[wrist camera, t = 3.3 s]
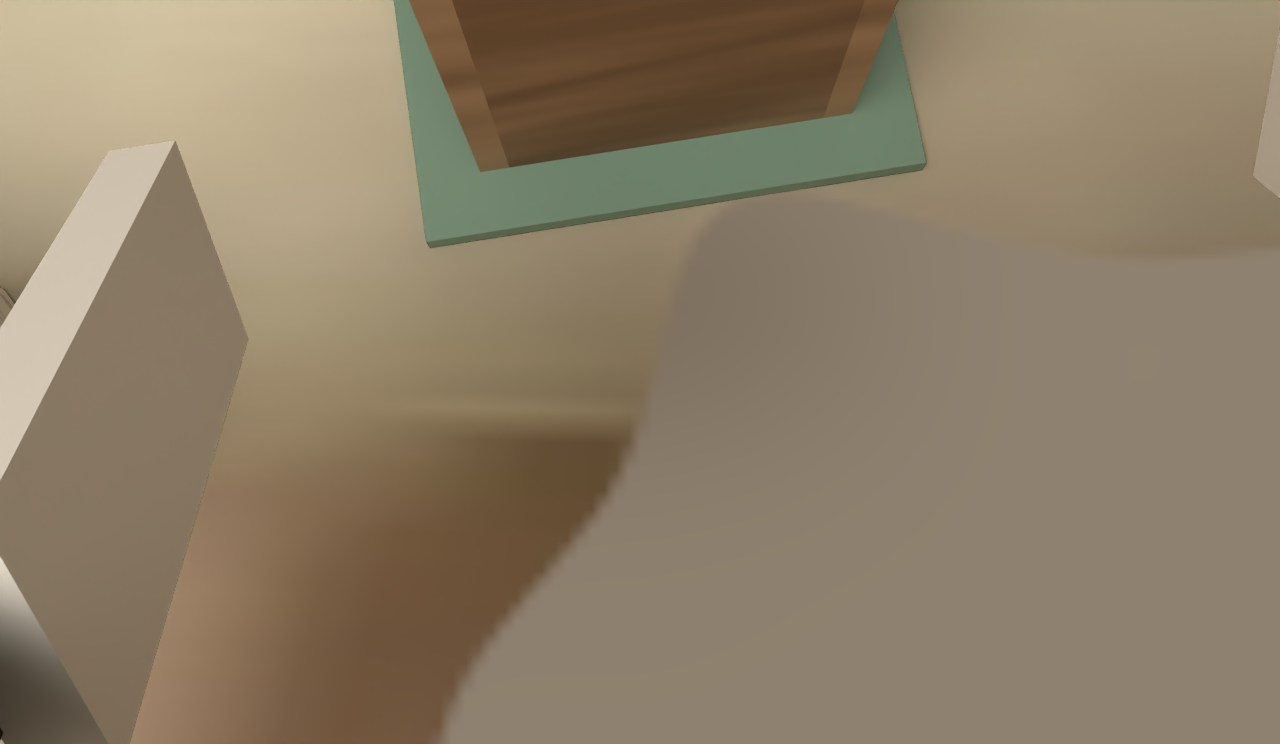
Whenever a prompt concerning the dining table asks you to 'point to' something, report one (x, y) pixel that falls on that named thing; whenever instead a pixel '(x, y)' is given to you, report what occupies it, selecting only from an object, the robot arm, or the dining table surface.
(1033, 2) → the dining table surface
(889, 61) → the mat
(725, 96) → the wooden block
